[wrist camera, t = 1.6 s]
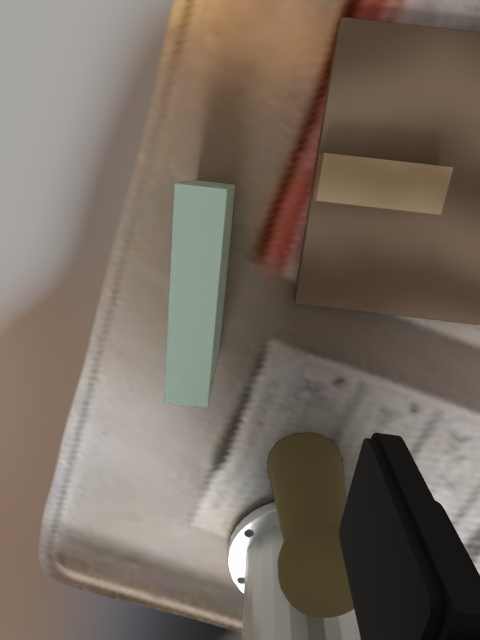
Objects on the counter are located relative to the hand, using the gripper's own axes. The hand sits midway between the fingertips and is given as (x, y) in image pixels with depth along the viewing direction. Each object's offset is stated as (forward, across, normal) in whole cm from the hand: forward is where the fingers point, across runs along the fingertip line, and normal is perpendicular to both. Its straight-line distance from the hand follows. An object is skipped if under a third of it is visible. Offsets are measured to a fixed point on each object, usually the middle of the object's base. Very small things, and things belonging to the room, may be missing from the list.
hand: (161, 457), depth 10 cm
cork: (+19, -8, +15) cm, 26 cm away
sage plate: (+19, +1, +1) cm, 19 cm away
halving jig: (+19, -14, -6) cm, 24 cm away
